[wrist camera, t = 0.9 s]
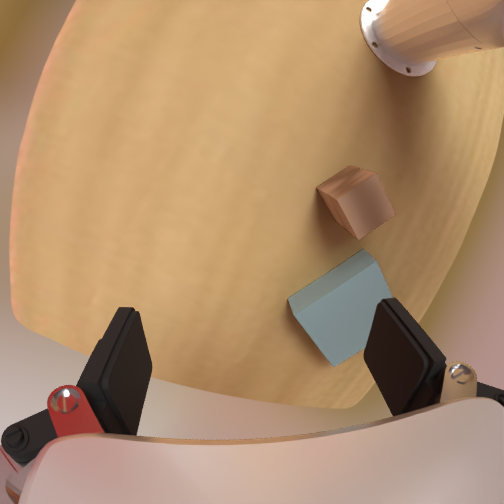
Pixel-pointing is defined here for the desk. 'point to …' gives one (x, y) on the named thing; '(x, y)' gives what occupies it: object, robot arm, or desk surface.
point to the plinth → (341, 306)
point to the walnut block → (356, 200)
